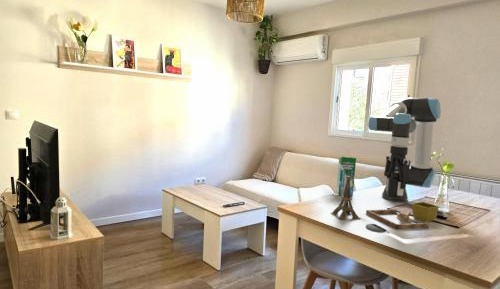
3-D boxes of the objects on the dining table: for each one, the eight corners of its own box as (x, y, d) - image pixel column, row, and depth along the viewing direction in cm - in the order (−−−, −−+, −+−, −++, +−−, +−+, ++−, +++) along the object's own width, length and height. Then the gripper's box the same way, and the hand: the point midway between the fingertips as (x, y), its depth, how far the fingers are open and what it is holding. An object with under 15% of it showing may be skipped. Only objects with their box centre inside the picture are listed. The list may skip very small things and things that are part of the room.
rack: (394, 215, 173) (395, 209, 172) (428, 230, 152) (428, 223, 151) (365, 216, 167) (366, 210, 167) (396, 232, 146) (396, 225, 146)
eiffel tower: (330, 213, 170) (334, 166, 167) (348, 213, 173) (352, 166, 170) (340, 220, 160) (345, 170, 157) (359, 219, 162) (364, 170, 160)
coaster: (377, 224, 156) (378, 223, 156) (390, 231, 147) (391, 230, 147) (361, 225, 154) (361, 224, 153) (374, 232, 145) (374, 231, 145)
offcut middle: (403, 218, 164) (404, 214, 164) (410, 222, 157) (411, 218, 157) (396, 217, 164) (397, 213, 164) (403, 222, 157) (404, 218, 157)
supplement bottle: (400, 199, 153) (403, 174, 152) (385, 196, 156) (387, 171, 155) (402, 196, 159) (405, 172, 157) (387, 193, 162) (390, 170, 161)
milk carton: (349, 192, 219) (353, 155, 216) (352, 196, 210) (356, 157, 207) (336, 191, 220) (339, 154, 217) (338, 194, 211) (341, 156, 208)
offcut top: (410, 215, 163) (410, 211, 162) (406, 218, 157) (407, 214, 156) (402, 213, 165) (403, 209, 165) (398, 217, 159) (399, 213, 159)
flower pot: (425, 225, 158) (428, 207, 158) (409, 220, 166) (411, 203, 165) (437, 224, 163) (439, 206, 162) (420, 218, 170) (422, 201, 169)
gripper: (379, 143, 163) (374, 188, 166) (408, 148, 144) (402, 199, 147) (391, 143, 165) (387, 188, 168) (421, 148, 147) (416, 198, 149)
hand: (394, 193), depth 157 cm, fingers closed on supplement bottle, 7 cm apart
